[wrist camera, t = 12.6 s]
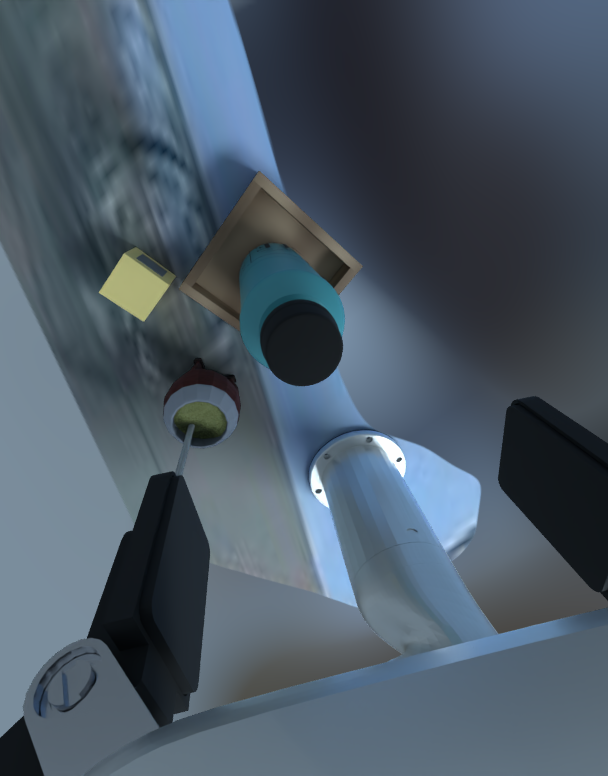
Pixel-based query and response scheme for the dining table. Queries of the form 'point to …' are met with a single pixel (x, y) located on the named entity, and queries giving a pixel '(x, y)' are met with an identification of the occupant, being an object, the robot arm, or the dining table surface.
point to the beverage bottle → (289, 315)
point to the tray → (252, 228)
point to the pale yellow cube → (137, 283)
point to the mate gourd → (201, 409)
